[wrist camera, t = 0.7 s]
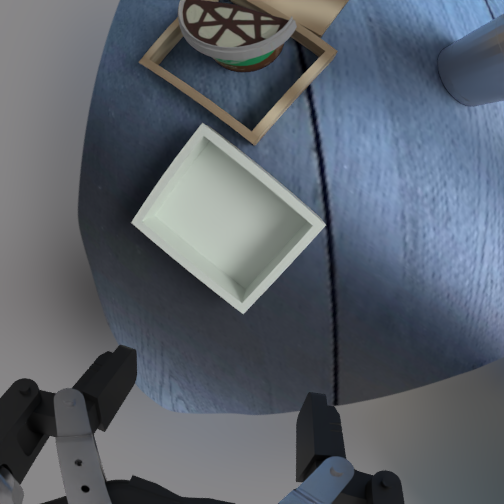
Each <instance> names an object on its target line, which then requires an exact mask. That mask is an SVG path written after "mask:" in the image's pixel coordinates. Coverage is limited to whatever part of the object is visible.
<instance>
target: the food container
mask: <svg viewBox="0 0 504 504" xmlns="http://www.w3.org/2000/svg"><path fill="white" fill-rule="evenodd" d="M178 21H179V25H180V29H181V31H182V34H183V36H184V38H185V39H186V41H187V42H188V43H189V44H190V45H191V46H192V47H193V48H195V49H196V50H197V51H199V52H201V53H203V54H205V55H207V56H210V57H212V58H213V59H214V60H215V61H216V62H217V63H218V64H219V65H221V66H223V67H224V68H226V69H229V70H231V71H236V72H251V71H256V70H259V69H262V68H264V67H266V66H267V65H269V64H270V63H272V62H273V61H274V60H275V59H276V58H277V57H278V55H279V54H280V52H281V50H282V48H283V45H284V42H285V41H287V40H288V39H289V37H290V36H291V35H292V34H293V33H294V31H295V29H296V28H297V25H296V22H295V20H293V18H292V16H291V18H290V19H289V20H286V19H284V18H280V17H276V16H272V15H269V14H265V13H262V12H259V11H255V10H252V9H249V8H246V7H242V6H239V5H235V4H228V3H220V2H213V1H207V0H180V3H179V7H178Z"/></svg>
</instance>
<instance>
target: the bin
mask: <svg viewBox="0 0 504 504" xmlns="http://www.w3.org/2000/svg"><path fill="white" fill-rule="evenodd" d="M131 223H132V224H133V225H134V226H136V227H137V228H138V229H139V230H140V231H141V232H142V233H144V234H145V235H146V236H147V237H148V238H150V239H151V240H152V241H153V242H154V243H155V244H157V245H158V246H159V247H160V248H161V249H163V250H164V251H165V252H166V253H167V254H169V255H170V256H171V257H172V258H173V259H175V260H176V261H177V262H178V263H179V264H181V265H182V266H183V267H184V268H186V269H187V270H188V271H189V272H190V273H192V274H193V275H194V276H195V277H197V278H198V279H199V280H200V281H202V282H203V283H204V284H205V285H207V286H208V287H209V288H210V289H212V290H213V291H214V292H215V293H217V294H218V295H219V296H221V297H222V298H223V299H224V300H226V301H227V302H228V303H230V304H231V305H232V306H233V307H235V308H236V309H237V310H239V311H240V312H241V313H242V314H244V313H245V312H246V311H247V310H248V309H249V308H250V306H251V305H252V304H253V303H254V302H255V301H256V300H257V299H258V298H259V297H260V296H261V295H262V294H263V293H264V292H265V291H266V290H267V289H268V288H269V286H270V285H271V284H272V283H273V282H274V281H275V280H276V279H277V278H278V277H279V276H280V275H281V274H282V273H283V272H284V270H285V269H286V268H287V267H288V266H289V265H290V264H291V263H292V262H293V261H294V260H295V259H296V257H297V256H298V255H299V254H300V253H301V252H302V251H303V250H304V249H305V248H306V247H307V245H308V244H309V243H310V242H311V241H312V240H313V239H314V238H315V237H316V236H317V234H318V233H319V232H320V231H321V230H322V229H323V228H324V227H325V226H326V224H325V223H324V222H323V220H322V219H321V218H320V217H319V216H318V215H317V214H316V213H315V212H313V211H312V210H311V209H310V208H309V207H308V206H307V205H306V204H304V203H303V202H302V201H301V200H300V199H299V198H297V197H296V196H295V195H294V194H293V193H292V192H291V191H289V190H288V189H287V188H286V187H285V186H283V185H282V184H281V183H280V182H279V181H278V180H276V179H275V178H274V177H273V176H272V175H270V174H269V173H268V172H267V171H266V170H264V169H263V168H262V167H261V166H259V165H258V164H257V163H256V162H255V161H253V160H252V159H251V158H250V157H248V156H247V155H246V154H245V153H243V152H242V151H241V150H240V149H238V148H237V147H236V146H234V145H233V144H232V143H231V142H229V141H228V140H227V139H226V138H224V137H223V136H222V135H220V134H219V133H218V132H216V131H215V130H214V129H212V128H211V127H209V126H207V125H205V124H203V123H202V124H201V125H200V127H199V128H198V129H197V131H196V132H195V133H194V134H193V136H192V137H191V138H190V139H189V141H188V142H187V143H186V145H185V146H184V147H183V149H182V150H181V151H180V153H179V154H178V155H177V157H176V158H175V159H174V161H173V162H172V163H171V165H170V166H169V168H168V169H167V170H166V172H165V173H164V175H163V176H162V177H161V179H160V180H159V182H158V183H157V185H156V186H155V187H154V189H153V190H152V192H151V193H150V195H149V196H148V198H147V199H146V201H145V202H144V204H143V205H142V207H141V208H140V210H139V211H138V213H137V214H136V216H135V217H134V219H133V221H132V222H131Z"/></svg>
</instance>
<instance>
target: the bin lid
mask: <svg viewBox="0 0 504 504" xmlns="http://www.w3.org/2000/svg"><path fill="white" fill-rule="evenodd" d="M261 1H262V2H264V3H266V4H268V5H269V6H271V7H273V8H275V9H276V10H278V11H280V12H281V13H283V14H285V15H286V16H288V17H289V18H291V16H292V18H293V20H295V21H296V22H297V23H299V24H300V25H302V26H303V27H305V28H306V29H308V30H309V31H311V32H312V33H313V34H315V35H316V36H318V37H319V38H321V37H322V35H323V34H324V33H325V31H326V30H327V28H328V27H329V26H330V24H331V23H332V22H333V20H334V19H335V18H336V17H337V15H338V14H339V13H340V11H341V10H342V9H343V7H344V6H345V5H346V3H347V2H348V1H349V0H261Z"/></svg>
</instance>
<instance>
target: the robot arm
mask: <svg viewBox="0 0 504 504" xmlns="http://www.w3.org/2000/svg"><path fill="white" fill-rule="evenodd" d="M438 70H439V75H440V77H441V80H442V82H443V84H444V86H445V88H446V89H447V90H448V92H449V93H450V94H451V95H452V96H453V97H454V98H455V99H456V100H457V101H459V102H460V103H462V104H464V105H467V106H479V105H483V104H488V103H494V102H498V101H504V14H502V15H501V16H499V17H497V18H495V19H494V20H492V21H490V22H488V23H487V24H485V25H483V26H481V27H480V28H478V29H476V30H474V31H473V32H471V33H469V34H468V35H466V36H464V37H463V38H461V39H459V40H458V41H456V42H454V43H453V44H451V45H450V46H448V47H446V48H445V49H443V50H442V52H441V53H440V55H439V57H438ZM136 378H137V353H136V350H135V349H132V348H129V347H127V346H124V345H119V346H118V348H117V349H116V350H115V351H114V352H113V353H112V352H109V351H107V352H106V353H104V354H102V355H100V356H99V357H98V358H97V359H96V360H95V361H94V363H93V364H92V365H91V366H90V367H89V369H88V370H87V371H86V372H85V374H83V376H82V377H81V378H80V379H79V380H78V382H77V383H76V384H75V385H74V386H73V387H72V388H66V389H62V390H60V391H58V392H57V393H51V392H46V391H42V390H39V388H38V385H37V384H36V383H35V382H34V381H33V380H31V379H26V378H24V379H19V380H17V381H15V382H14V383H13V384H12V385H11V387H10V388H9V389H8V390H7V391H6V392H5V393H4V395H3V396H2V397H1V398H0V504H22V501H23V497H24V492H23V489H22V487H21V486H20V484H21V482H22V481H23V479H24V477H25V476H26V474H27V472H28V471H29V469H30V467H31V466H32V463H33V462H34V461H35V459H36V457H37V456H38V454H39V452H40V451H41V449H42V447H43V446H44V444H45V443H46V441H47V440H48V438H49V436H53V437H56V446H57V453H58V458H59V464H60V469H61V474H62V479H63V484H64V488H65V492H66V496H64V497H61V498H58V499H55V500H52V501H48V502H45V503H41V504H235V503H230V502H225V501H220V500H215V499H210V498H188V497H181V496H178V495H176V494H174V493H172V492H171V491H169V490H167V489H165V488H163V487H162V486H160V485H158V484H156V483H153V482H150V481H147V480H145V479H142V478H139V477H136V476H132V478H131V480H130V481H129V480H111V481H107V478H106V476H105V473H104V470H103V467H102V464H101V460H100V456H99V453H98V449H97V445H96V441H95V437H94V433H95V431H96V430H97V429H99V430H102V431H104V432H105V431H106V429H107V428H108V426H109V424H110V423H111V421H112V419H113V418H114V416H115V414H116V413H117V411H118V410H119V408H120V407H121V405H122V403H123V402H124V400H125V398H126V397H127V395H128V394H129V392H130V390H131V389H132V387H133V386H134V384H135V381H136ZM296 482H303V483H302V484H301V485H300V486H299V487H298V488H296V489H294V490H293V491H291V492H290V493H289V494H288V495H287V496H286V497H285V498H284V499H282V500H281V501H280V502H279V503H278V504H404V498H403V492H402V485H401V481H400V479H399V477H398V476H397V475H396V474H394V473H393V472H390V471H379V472H377V473H376V474H375V475H374V476H373V475H370V474H366V473H363V472H359V471H357V470H355V469H354V467H353V465H352V464H351V463H350V462H349V461H348V460H347V459H346V455H345V448H344V441H343V434H342V427H341V420H340V415H339V413H338V412H337V410H336V408H335V407H334V406H327V399H326V395H325V394H319V393H312V392H309V393H308V395H307V397H306V399H305V401H304V404H303V406H302V408H301V410H300V413H299V415H298V419H297V424H296Z"/></svg>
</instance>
